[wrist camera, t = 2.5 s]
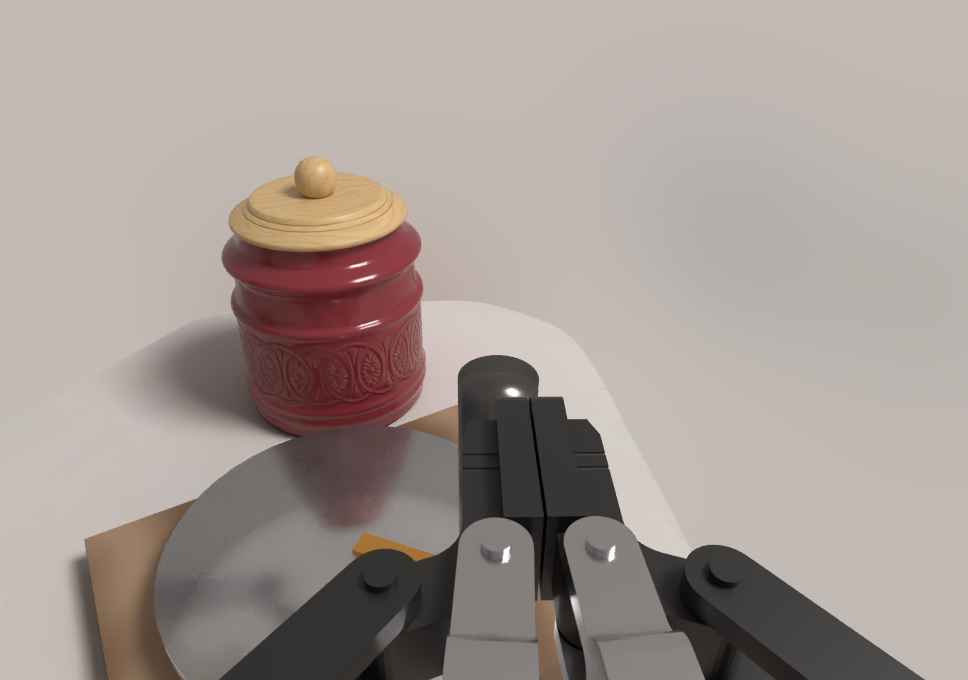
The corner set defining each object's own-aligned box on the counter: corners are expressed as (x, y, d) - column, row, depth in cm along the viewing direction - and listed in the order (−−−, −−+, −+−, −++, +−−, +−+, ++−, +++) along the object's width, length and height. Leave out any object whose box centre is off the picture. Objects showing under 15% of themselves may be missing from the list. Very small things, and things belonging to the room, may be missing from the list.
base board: (160, 934, 25) (144, 908, 23) (94, 564, 38) (82, 535, 37) (643, 635, 35) (650, 606, 34) (456, 427, 49) (456, 401, 47)
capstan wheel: (74, 662, 31) (-52, 415, 23) (301, 423, 45) (269, 222, 38) (444, 826, 26) (435, 575, 18) (569, 497, 40) (593, 280, 32)
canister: (415, 334, 59) (405, 125, 50) (438, 431, 48) (432, 187, 39) (257, 350, 57) (215, 133, 47) (244, 455, 46) (187, 202, 36)
